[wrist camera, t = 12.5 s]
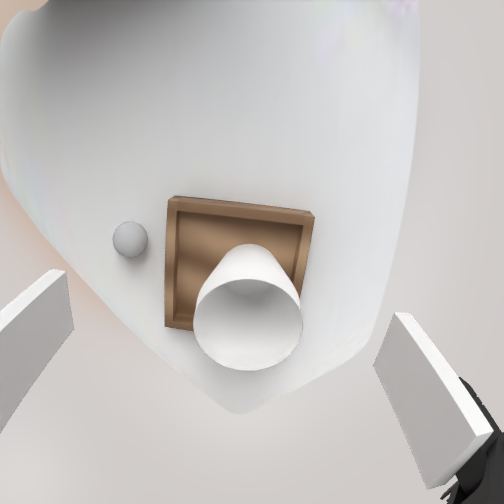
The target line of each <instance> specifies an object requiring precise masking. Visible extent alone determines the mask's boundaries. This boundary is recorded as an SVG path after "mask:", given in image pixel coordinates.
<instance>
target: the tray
mask: <svg viewBox="0 0 504 504" xmlns="http://www.w3.org/2000/svg"><path fill="white" fill-rule="evenodd" d="M314 219H315V217H314V216H313V215H312V213H311V212H310V211H304V210H296V209H289V208H281V207H274V206H266V205H257V204H249V203H240V202H232V201H223V200H213V199H204V198H194V197H183V196H174V197H172V198H171V199H169V200H168V208H167V226H166V251H165V327H170V328H176V329H183V330H191V331H194V329H193V319H194V314H195V309H196V303H197V298H198V295H199V292H200V290H201V288H202V286H203V284H204V283H205V281H206V280H207V279H208V277H209V276H210V275H211V273H212V272H213V271H214V269H215V268H216V267H217V265H218V264H219V263H220V261H221V260H222V259H223V257H224V256H225V255H226V254H227V252H229V251H230V250H231V249H233V248H234V247H236V246H239V245H243V244H255V245H259V246H262V247H264V248H266V249H267V250H268V251H270V252H271V253H272V255H273V256H274V257H275V259H276V260H277V262H278V263H279V264H280V266H281V267H282V269H283V270H284V272H285V273H286V275H287V276H288V278H289V279H290V281H291V282H292V284H293V285H294V287H295V289H296V291H297V294H298V296H299V299H300V294H301V289H302V284H303V279H304V274H305V269H306V263H307V258H308V253H309V247H310V242H311V236H312V230H313V225H314Z"/></svg>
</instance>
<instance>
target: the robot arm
mask: <svg viewBox="0 0 504 504" xmlns="http://www.w3.org/2000/svg"><path fill="white" fill-rule="evenodd" d="M73 330H74V325H73V319H72V313H71V307H70V300H69V293H68V285H67V277H66V271H61V270H56V269H50V270H49V271H48V272H46V273H45V274H44V275H43V276H41V277H40V278H39V279H38V280H37V281H35V282H34V283H33V284H32V285H30V286H29V287H28V288H27V289H26V290H24V291H23V292H22V293H21V294H20V295H19V296H17V297H16V298H15V299H14V300H13V301H11V302H10V303H9V304H8V305H7V306H6V307H5V308H3V309H2V310H1V311H0V433H1V431H2V430H3V428H4V427H5V425H6V424H7V422H8V420H9V419H10V417H11V416H12V414H13V413H14V411H15V410H16V408H17V407H18V405H19V404H20V402H21V401H22V399H23V398H24V396H25V395H26V393H27V392H28V390H29V389H30V387H31V386H32V385H33V383H34V382H35V381H36V379H37V378H38V376H39V375H40V374H41V372H42V371H43V369H44V368H45V367H46V365H47V364H48V362H49V361H50V360H51V358H52V357H53V356H54V355H55V353H56V352H57V351H58V349H59V348H60V347H61V345H62V344H63V343H64V341H65V340H66V339H67V337H68V336H69V335H70V334H71V332H72V331H73ZM373 366H374V368H375V370H376V373H377V375H378V377H379V379H380V381H381V383H382V385H383V388H384V390H385V392H386V394H387V396H388V398H389V401H390V403H391V405H392V407H393V409H394V412H395V414H396V416H397V418H398V421H399V423H400V425H401V428H402V430H403V432H404V435H405V437H406V439H407V442H408V444H409V446H410V449H411V451H412V453H413V456H414V458H415V461H416V463H417V466H418V468H419V471H420V473H421V476H422V478H423V481H424V483H425V486H426V489H427V490H428V489H431V488H435V487H438V486H441V485H445V484H446V483H447V482H448V481H449V480H450V479H451V478H452V477H453V476H454V475H456V477H457V479H458V481H457V482H456V483H455V484H454V485H453V486H452V487H450V488H449V489H448V490H447V491H446V492H445V493H444V494H443V495H442V497H441V498H440V499H442V500H443V499H444V498H445V497H446V496H447V495H449V494H450V493H451V494H450V497H449V499H447V502H448V503H447V504H504V432H503V433H502V432H501V430H500V429H499V427H498V426H497V424H496V423H495V421H494V419H493V418H492V417H491V415H490V413H489V412H488V410H487V409H486V408H485V406H484V405H482V402H481V400H480V399H479V397H477V395H476V393H475V392H474V390H473V389H472V387H471V386H470V385H469V384H468V383H467V382H465V381H464V380H463V379H462V378H461V377H457V375H456V374H455V372H454V371H453V370H452V368H451V367H450V365H449V364H448V363H447V361H446V360H445V359H444V357H443V356H442V355H441V354H440V352H439V351H438V349H437V348H436V347H435V345H434V344H433V343H432V341H431V340H430V339H429V337H428V336H427V335H426V333H425V332H424V331H423V330H422V328H421V327H420V326H419V325H418V323H417V322H416V321H415V319H414V318H413V317H412V316H411V314H410V313H398V312H394V315H393V317H392V320H391V323H390V325H389V328H388V331H387V333H386V336H385V338H384V341H383V343H382V346H381V348H380V350H379V353H378V356H377V358H376V360H375V362H374V365H373Z"/></svg>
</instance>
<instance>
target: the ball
mask: <svg viewBox="0 0 504 504" xmlns="http://www.w3.org/2000/svg"><path fill="white" fill-rule="evenodd" d="M113 245H114V247H115V249H116V251H117V252H118V253H119V254H120V255H122V256H124V257H135V256H138V255H139V254H141V253H142V252H143V251H144V249H145V247H146V245H147V234H146V231H145V230H144V228H143V227H142V226H141V225H140V224H138V223H135V222H125V223H123V224H121V225H119V226H118V227H117V229H116V230H115V232H114V235H113Z"/></svg>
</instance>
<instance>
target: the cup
mask: <svg viewBox="0 0 504 504" xmlns="http://www.w3.org/2000/svg"><path fill="white" fill-rule="evenodd" d="M193 329H194V334H195V337H196V340H197V342H198V344H199V346H200V347H201V349H202V350H203V351H204V352H205V353H206V354H207V355H208V356H209V357H210V358H211V359H213V360H214V361H216V362H217V363H219V364H221V365H223V366H226V367H228V368H232V369H236V370H243V371H254V370H261V369H265V368H269V367H271V366H274V365H276V364H278V363H279V362H281V361H283V360H284V359H285V358H287V357H288V356H289V355H290V354H291V353H292V352H293V350H294V349H295V348H296V346H297V345H298V343H299V341H300V338H301V335H302V329H303V321H302V315H301V309H300V300H299V296H298V294H297V291H296V289H295V287H294V285H293V284H292V282H291V281H290V279H289V278H288V276H287V275H286V273H285V272H284V270H283V269H282V267H281V266H280V264H279V263H278V262H277V260H276V259H275V257H274V256H273V255H272V253H271V252H270V251H268V250H267V249H266V248H264V247H262V246H259V245H255V244H243V245H239V246H236V247H234V248H233V249H231V250H230V251H229V252H227V254H226V255H225V256H224V257H223V259H222V260H221V261H220V263H219V264H218V265H217V267H216V268H215V269H214V271H213V272H212V273H211V275H210V276H209V277H208V279H207V280H206V281H205V283H204V284H203V286H202V288H201V290H200V292H199V295H198V298H197V303H196V309H195V314H194V319H193Z"/></svg>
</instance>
